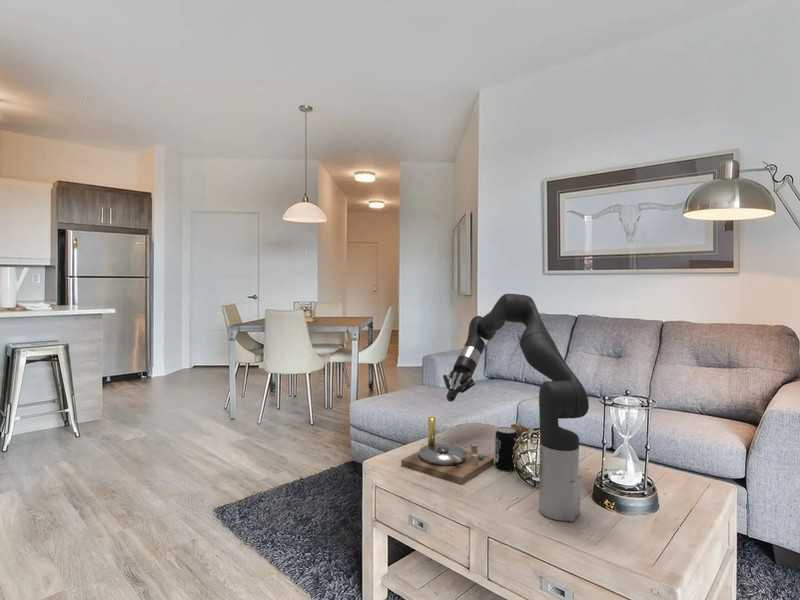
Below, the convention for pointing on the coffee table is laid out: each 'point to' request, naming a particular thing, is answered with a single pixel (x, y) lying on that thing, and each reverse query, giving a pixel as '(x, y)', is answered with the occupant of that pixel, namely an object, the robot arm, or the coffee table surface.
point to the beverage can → (505, 448)
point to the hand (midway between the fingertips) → (449, 400)
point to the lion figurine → (518, 429)
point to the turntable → (452, 466)
